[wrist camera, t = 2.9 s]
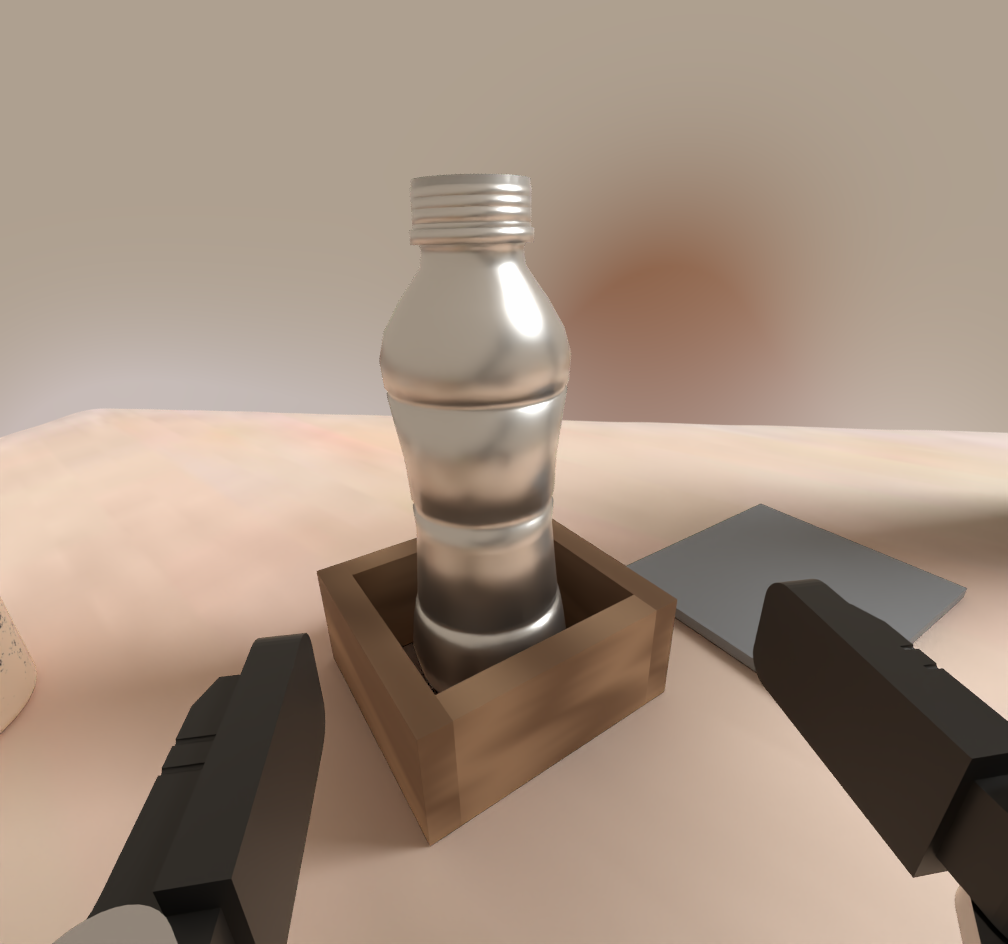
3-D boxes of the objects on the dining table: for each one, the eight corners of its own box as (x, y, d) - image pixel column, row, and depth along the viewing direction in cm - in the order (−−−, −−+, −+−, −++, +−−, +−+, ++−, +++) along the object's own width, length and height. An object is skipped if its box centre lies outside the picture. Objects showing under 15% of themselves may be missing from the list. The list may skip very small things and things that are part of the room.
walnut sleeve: (525, 576, 31) (525, 501, 29) (664, 691, 23) (677, 599, 21) (333, 657, 25) (316, 571, 23) (430, 846, 18) (416, 740, 15)
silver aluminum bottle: (589, 707, 22) (624, 169, 14) (432, 755, 21) (368, 165, 12) (534, 614, 28) (536, 188, 20) (407, 644, 26) (350, 187, 18)
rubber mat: (759, 511, 38) (760, 503, 38) (963, 597, 29) (967, 588, 28) (617, 578, 31) (618, 569, 31) (827, 720, 22) (830, 709, 21)
